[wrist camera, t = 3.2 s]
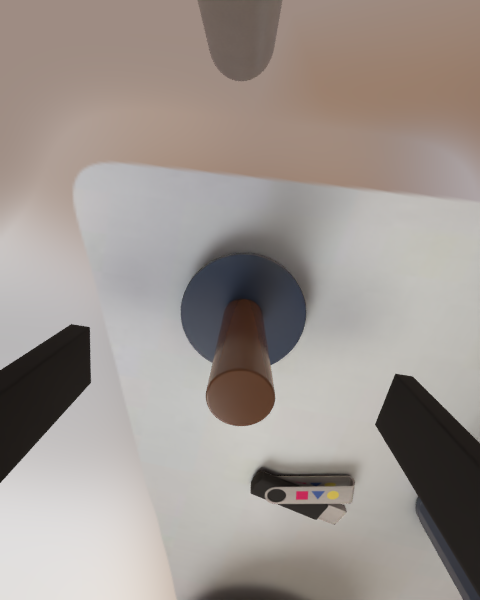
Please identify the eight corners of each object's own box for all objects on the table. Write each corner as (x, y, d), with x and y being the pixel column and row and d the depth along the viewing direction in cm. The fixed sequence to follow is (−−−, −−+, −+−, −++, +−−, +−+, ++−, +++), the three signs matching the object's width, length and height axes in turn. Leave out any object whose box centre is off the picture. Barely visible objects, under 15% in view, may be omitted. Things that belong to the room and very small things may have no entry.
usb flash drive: (248, 484, 24) (248, 495, 23) (277, 444, 22) (278, 454, 21) (330, 516, 25) (334, 529, 24) (364, 480, 23) (369, 492, 22)
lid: (190, 241, 17) (133, 275, 9) (315, 262, 18) (383, 315, 9) (179, 352, 20) (127, 464, 11) (288, 369, 20) (320, 491, 11)
